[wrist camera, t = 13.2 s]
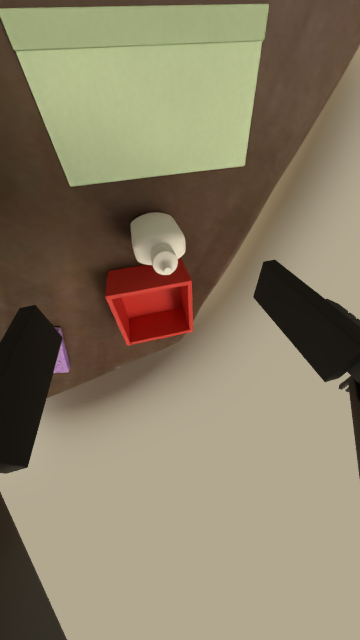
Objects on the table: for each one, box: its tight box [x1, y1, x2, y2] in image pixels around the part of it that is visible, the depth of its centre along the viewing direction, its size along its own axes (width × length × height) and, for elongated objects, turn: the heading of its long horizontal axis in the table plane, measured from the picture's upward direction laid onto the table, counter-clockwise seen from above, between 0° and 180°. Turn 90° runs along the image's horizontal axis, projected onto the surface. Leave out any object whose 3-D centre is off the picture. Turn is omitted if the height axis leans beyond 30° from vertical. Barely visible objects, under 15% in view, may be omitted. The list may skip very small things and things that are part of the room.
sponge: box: [53, 327, 70, 373], centre depth 34 cm, size 7×13×2 cm, turn 165°
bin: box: [105, 259, 193, 346], centre depth 29 cm, size 11×10×6 cm
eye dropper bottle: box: [131, 212, 186, 275], centre depth 20 cm, size 4×6×12 cm
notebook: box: [0, 4, 269, 187], centre depth 17 cm, size 20×10×1 cm, turn 94°
